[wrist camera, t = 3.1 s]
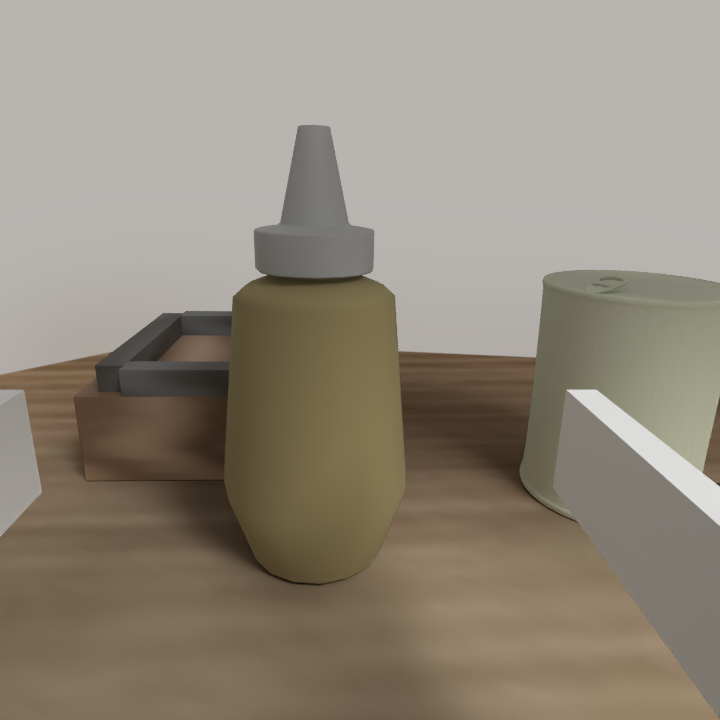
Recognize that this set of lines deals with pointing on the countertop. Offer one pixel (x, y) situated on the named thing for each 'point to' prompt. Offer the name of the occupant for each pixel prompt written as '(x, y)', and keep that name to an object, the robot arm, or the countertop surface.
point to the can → (625, 362)
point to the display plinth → (160, 402)
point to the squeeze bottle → (314, 386)
